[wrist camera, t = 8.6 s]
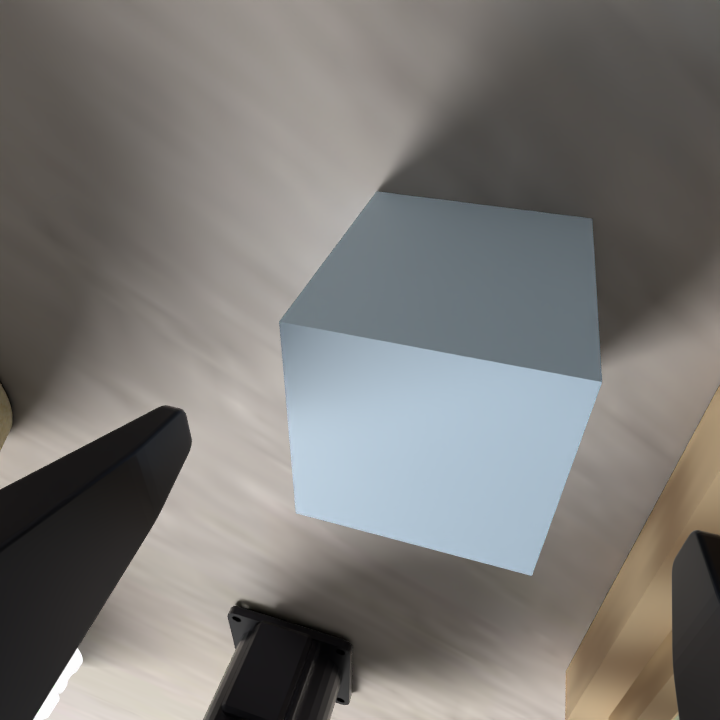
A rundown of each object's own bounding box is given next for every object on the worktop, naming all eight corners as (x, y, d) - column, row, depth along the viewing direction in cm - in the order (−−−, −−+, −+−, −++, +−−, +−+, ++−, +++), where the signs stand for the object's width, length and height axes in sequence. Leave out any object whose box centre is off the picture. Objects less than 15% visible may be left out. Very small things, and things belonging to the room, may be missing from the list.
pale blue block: (544, 387, 16) (531, 575, 11) (371, 354, 17) (295, 513, 12) (592, 218, 13) (601, 382, 8) (377, 190, 14) (279, 321, 9)
